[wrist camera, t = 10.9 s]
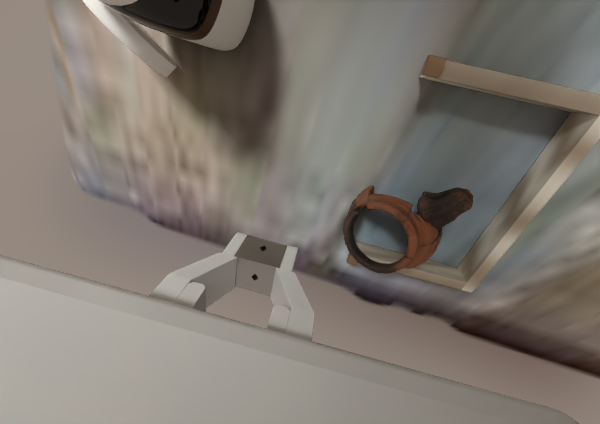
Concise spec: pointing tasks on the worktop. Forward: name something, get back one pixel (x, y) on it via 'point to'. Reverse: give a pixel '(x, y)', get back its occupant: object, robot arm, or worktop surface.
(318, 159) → the worktop surface
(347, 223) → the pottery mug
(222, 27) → the spread jar
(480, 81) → the wooden u-shaped frame
